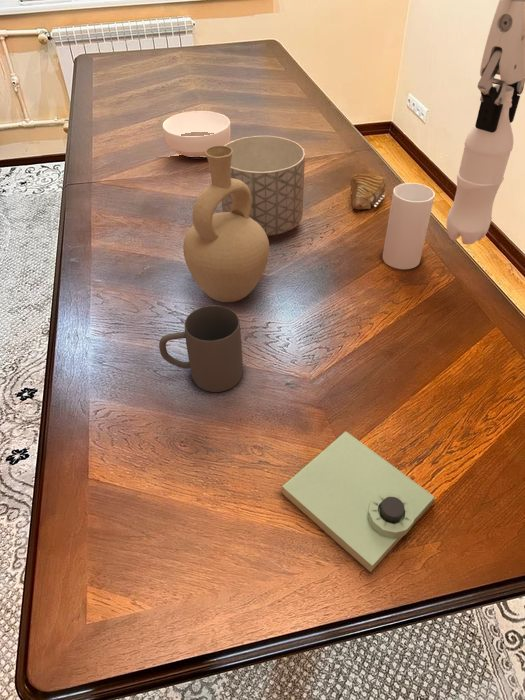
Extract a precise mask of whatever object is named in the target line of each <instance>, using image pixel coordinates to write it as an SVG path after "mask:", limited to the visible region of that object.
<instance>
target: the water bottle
mask: <svg viewBox="0 0 525 700" xmlns="http://www.w3.org/2000/svg"><path fill="white" fill-rule="evenodd" d="M493 87H496V90H497V92H498V89H499V87H500V85H497V84H495V85H493ZM513 92H514V88H513V87H511V86H507V87H506V90H505V93H504V96H503V98H502V101H501V103H500V104H503V107H502V111H501V115H500V119H499V122H498V126H497V130H496V131H495V132H493V133H491V132H488V131H485V130H481V129H478V128H476V127H475V125H476V123H475V125H474V126H473V127H472V128H471V129H470V131H469V132H468V134H467V136H466V138H465V141H464V147H463V152H462V155H461V161H460V165H459V168H458V169H459V170H458V171H457V175H456V181H457V182H456V191H455V194H454V195H455V196H454V198H453V202H452V204H451V207H450V209H449V211H448V213H447V216H446V223H445V224H446V225H445V226H446V227H445V228H446V233H447V236H448V238H449V239H450V240H451V241H453V242H454V241H457V240H458V239H459V238H461V243H462V244H463V245H465V246H467V245H473V244H475V243H476V242H480V241H481V240H482V239H484V238H485V237H486V235H487V233H488V232H489V229H490V226H491V223H492V219H493V218H492V216H493V215H492V214H493V206H494V202H495V198H496V196H497V194H498V191H499V189H500V187H501V185H502V183H503V181H504V176H505V172H506V169H507V165H508V162H509V158H510V156H511V152H512V151H513V148H514V135H513V129H512V124H511V123H510V121H509V108H510V107H511V106H512V103H511V102H512V99H511V98H512V96H513Z"/></svg>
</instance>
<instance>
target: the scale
mask: <svg viewBox="0 0 525 700" xmlns="http://www.w3.org/2000/svg"><path fill="white" fill-rule="evenodd" d="M281 494H282V495H283V496H284V497H285V498H286V499H287V500H288V501H290V503H292V504H293V505H294V506H295V507H296V508H297V509H298V510H300V511H301V513H303V514H304V515H306V516H307V517H308V518H309V519H310V520H311V521H312V522H313V523H314V524H315V525H317V526H318V527H319V528H320V529H321V530H322V531H323V532H324V533H325V534H326V535H328V536H329V537H330V538H331V539H332V540H333V541H334V542H336V543H337V544H338V545H339V546H340V547H341V548H342V549H344V551H346V552H347V553H348V554H349V555H351V557H353V559H355V560H356V561H357V562H358V563H359V564H361V566H363V567H364V568H365V569H366V570H367V571H368V572H370V573H372V571H373V570H374V569H375V568H376V567H377V566H378V565H379V564H380V562H381V561H383V559H384V558H385V557H386V556H387V555H388V554H389V553H390V551H392V550H393V548H394V547H396V545H397V544H398V543H399V542H400V540H401V539H402V538H403V537H404V536H406V535H407V534H408V533H409V531H411V529H412V528H413V526H415V524H416V523H417V522H418V521H419V519H420V518H421V517H422V516H423V515H424V514H425V513H426V512H427V510H428V509H429V508H430V507H431V506H432V505H433V503H434V500H435V498H436V496H435V495H433V494H432V493H430V491H427V490H426V489H425V488H424V487H422V486H421V485H420V484H418V483H417V482H416V481H414V480H413V479H412V478H410V477H409V476H407V475H406V474H405V473H404V472H403V471H401V470H399V469H398V468H396V467H395V466H394V465H393V464H391V463H390V462H389V461H387V460H386V459H384V458H383V457H382V456H380V455H379V454H377V452H375V451H374V450H372V449H371V448H370V447H368V446H367V445H365V444H364V443H363V442H362V441H360V440H359V439H357V438H356V437H355V436H354V435H352V434H351V433H350V432H348V431H344V432H343V433H342V434H341V435H339V436H338V437H337V438H336V439H335V440H334V441H332V442H331V443H330V444H329V445H328V446H327V447H326V448H325V449H323V450H322V451H321V452H320V453H319V454H318V455H316V456H315V457H314V458H313V459H311V461H310V462H309V463H307V464H305V466H304V467H302V468H301V469H300V470H299V471H298V472H297V473H296V474H294V475H293V476H292V477H291V478H290V479H289V480H288V481H287V482H285V483H284V484H283V485H281ZM387 497H396V498H398V499H399V500H401V501H402V503H403V504H404V508H405V510H404V513H403V516H402V519H401V520H400V521H398V522H395V523H391V522H388V521H386V520H384V519H383V518H382V516H381V514H380V507H381V503H382V501H383V500H384V499H385V498H387Z"/></svg>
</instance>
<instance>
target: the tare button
mask: <svg viewBox="0 0 525 700" xmlns="http://www.w3.org/2000/svg"><path fill="white" fill-rule="evenodd" d="M404 510H405V508H404V504H403V503H402V501H401V500H399V499H398V498H396V497H387V498H385V499H384V500H383V501H382V503H381V507H380V514H381V516H382V518H383V519H384V520H386V521H388V522H391V523H395V522H398V521H400V520H401V519H402V516H403V513H404Z"/></svg>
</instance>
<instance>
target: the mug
mask: <svg viewBox="0 0 525 700" xmlns="http://www.w3.org/2000/svg"><path fill="white" fill-rule="evenodd" d="M183 327H184V329H183V330H184V331H181V332H180V331H179V332H172V333H167V334H164V335H162V336H161V338H160V339H159V342H158V343H159V344H158V348H159V353H160V355H161V357H162V359H163V360H164V361H166V362H167V363H169V364H171V366H175V367H177V368H181V369H187V370H189V369H190V375H191V377H192V380H193V382H194V384H195V385H196V386H197V387H198V388H200V389H201V390H203V391H206V392H210V393H220V392H225V391H229V390H231V389H233V388H234V387H235V386H237V385H238V384H239V383H240V381H241V379H242V377H243V370H244V369H243V367H244V364H243V362H244V361H243V345H242V330H241V329H242V328H241V322H240V318H239V316H238V314H237V313H236V312H235V311H234V310H232V309H231V308H229V307H227V306H223V305H215V304H213V305H212V304H211V305H205V306H202V307H199V308H196V309H194V310H193V311H192V312H190V313H189V314H188V315H187V317H186V318H185V321H184V326H183ZM182 339H185V344H186V352H187V356H188V357H187V358H188V361H183V360H180V359H177V358H175V357H174V356H172V355H170V354H169V353H168V350H167V343H168V342H169V341H173V340H182Z"/></svg>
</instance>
